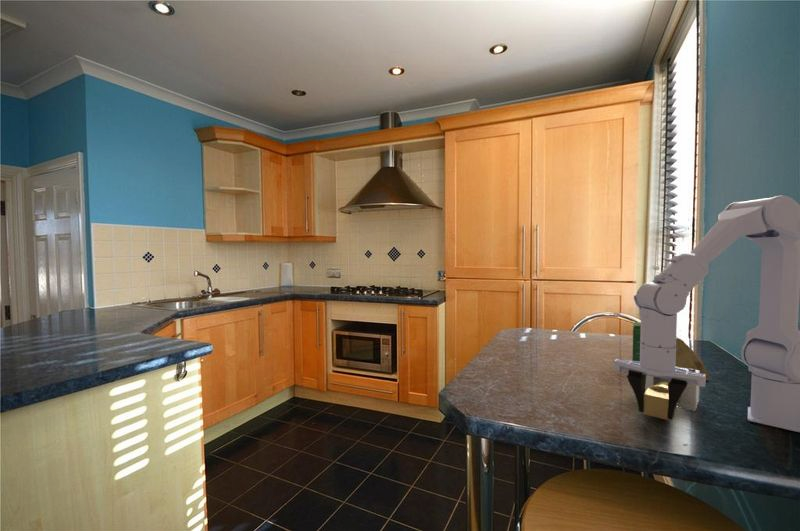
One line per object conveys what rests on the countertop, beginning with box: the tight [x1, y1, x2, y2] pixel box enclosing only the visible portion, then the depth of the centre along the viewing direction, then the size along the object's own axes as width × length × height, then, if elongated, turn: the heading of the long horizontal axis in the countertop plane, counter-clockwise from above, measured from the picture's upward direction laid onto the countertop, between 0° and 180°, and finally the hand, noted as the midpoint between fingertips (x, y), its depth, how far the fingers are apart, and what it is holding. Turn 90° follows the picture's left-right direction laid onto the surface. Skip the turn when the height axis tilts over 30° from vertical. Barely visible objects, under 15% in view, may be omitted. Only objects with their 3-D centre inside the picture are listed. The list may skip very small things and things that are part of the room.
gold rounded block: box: [642, 381, 678, 421], centre depth 76 cm, size 12×6×6 cm, turn 137°
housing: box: [645, 367, 700, 412], centre depth 84 cm, size 10×7×7 cm
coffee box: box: [631, 321, 641, 362], centre depth 107 cm, size 8×3×13 cm, turn 144°
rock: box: [676, 337, 710, 381], centre depth 100 cm, size 11×9×10 cm
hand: (655, 413), depth 73 cm, fingers closed on gold rounded block, 4 cm apart
